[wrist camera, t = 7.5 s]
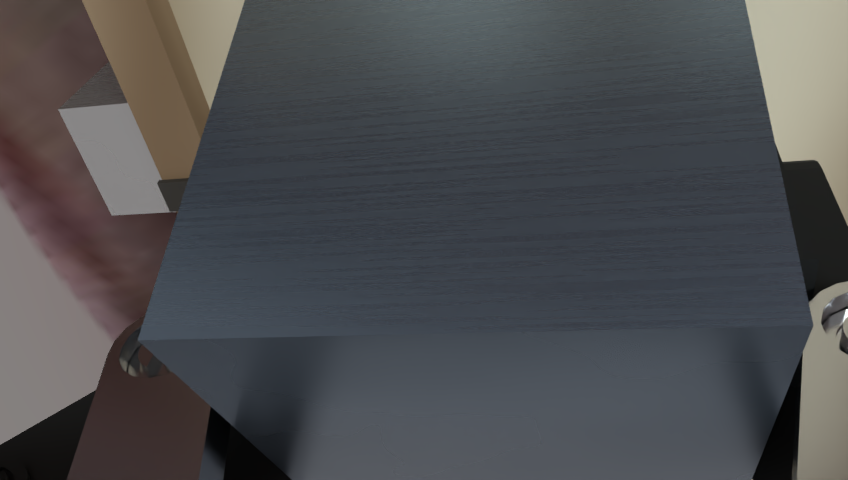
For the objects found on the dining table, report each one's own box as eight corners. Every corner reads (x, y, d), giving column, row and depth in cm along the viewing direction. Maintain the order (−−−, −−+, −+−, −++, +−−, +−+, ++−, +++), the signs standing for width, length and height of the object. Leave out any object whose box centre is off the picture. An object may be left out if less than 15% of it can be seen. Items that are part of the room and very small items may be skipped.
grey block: (703, -201, 8) (813, 325, 5) (677, 128, 12) (728, 537, 9) (287, -134, 9) (137, 339, 6) (393, 150, 13) (341, 523, 10)
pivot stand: (1080, -302, 14) (1373, -250, 9) (971, 107, 18) (1119, 297, 13) (153, -143, 18) (-20, -45, 13) (258, 157, 23) (163, 317, 18)
